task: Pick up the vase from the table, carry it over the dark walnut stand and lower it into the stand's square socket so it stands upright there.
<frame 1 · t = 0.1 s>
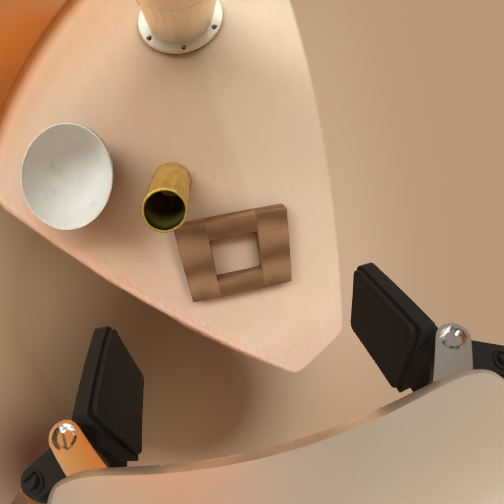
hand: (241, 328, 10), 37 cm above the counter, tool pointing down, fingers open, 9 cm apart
vase stand: (234, 251, 50), on the counter
vase: (171, 181, 43), on the counter
chinaware: (81, 167, 38), on the counter
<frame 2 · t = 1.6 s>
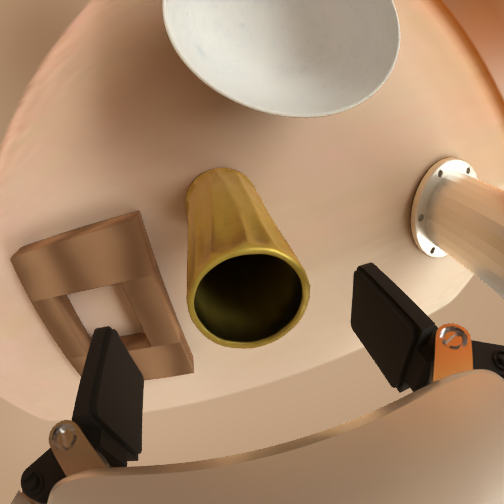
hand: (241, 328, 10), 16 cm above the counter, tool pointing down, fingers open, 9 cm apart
vase stand: (106, 308, 27), on the counter
vase: (221, 202, 25), on the counter
chinaware: (265, 34, 18), on the counter
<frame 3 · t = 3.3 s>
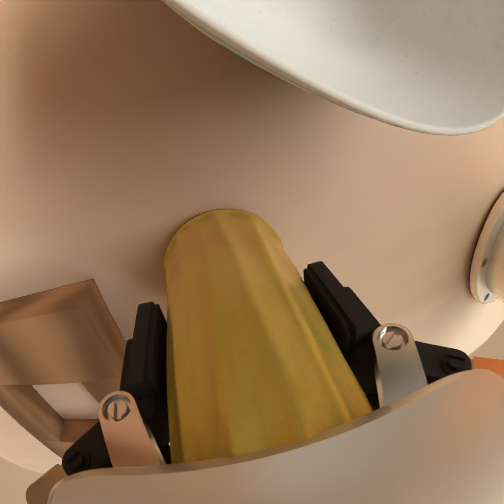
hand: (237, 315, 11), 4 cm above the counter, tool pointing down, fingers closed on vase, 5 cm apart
vase stand: (73, 393, 17), on the counter
vase: (223, 263, 15), on the counter, touching gripper
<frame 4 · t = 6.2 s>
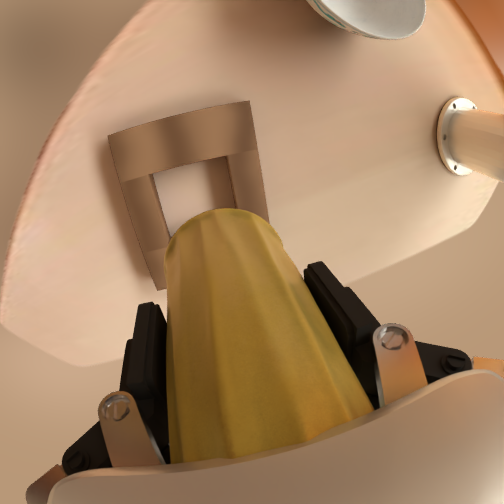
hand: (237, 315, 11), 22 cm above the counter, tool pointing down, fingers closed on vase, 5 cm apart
vase stand: (195, 195, 31), on the counter
vase: (223, 262, 15), point 18 cm above the counter, touching gripper
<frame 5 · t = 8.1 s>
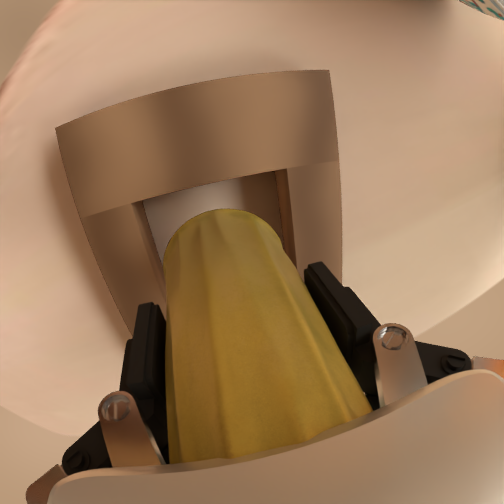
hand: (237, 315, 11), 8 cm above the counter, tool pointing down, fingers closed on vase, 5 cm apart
vase stand: (219, 236, 18), on the counter
vase: (223, 263, 15), point 3 cm above the counter, touching gripper
when the fingers open (5 cm above the counter, at t = 9.4 s): vase stays where it is, resting in vase stand.
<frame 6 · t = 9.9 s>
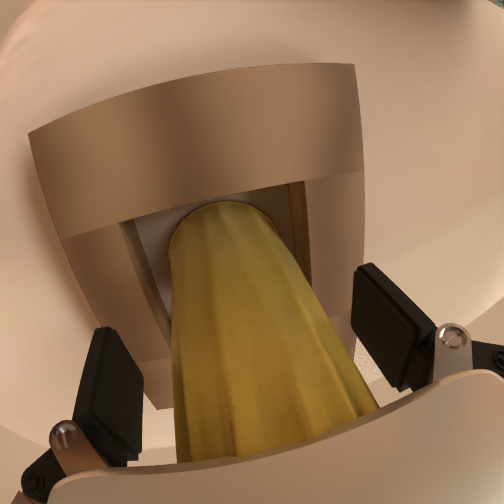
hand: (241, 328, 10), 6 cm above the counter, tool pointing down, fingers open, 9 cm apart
vase stand: (222, 256, 16), on the counter
vase: (224, 253, 16), resting in vase stand
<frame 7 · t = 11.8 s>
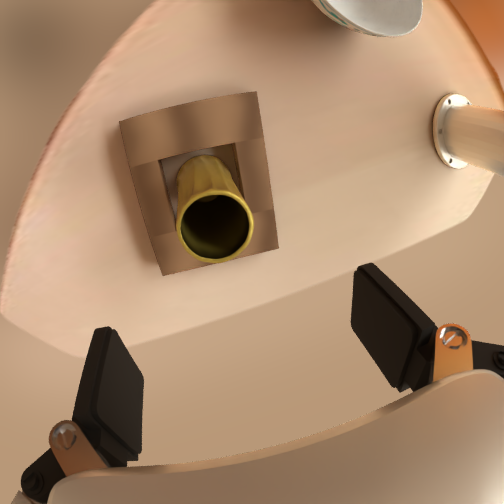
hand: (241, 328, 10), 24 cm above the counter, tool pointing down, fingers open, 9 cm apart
vase stand: (202, 182, 31), on the counter
vase: (203, 181, 32), resting in vase stand
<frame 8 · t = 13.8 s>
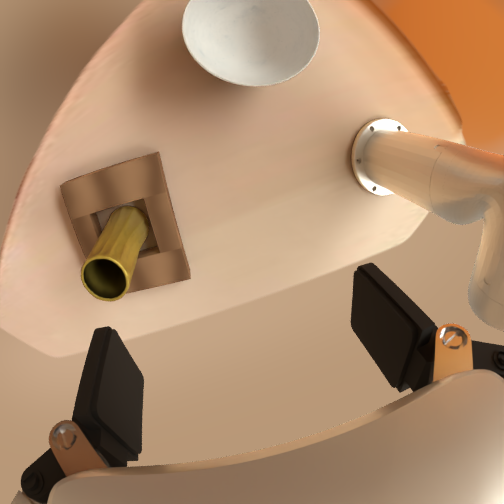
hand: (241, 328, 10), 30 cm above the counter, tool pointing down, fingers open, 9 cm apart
vase stand: (127, 227, 38), on the counter
vase: (128, 225, 38), resting in vase stand
chinaware: (241, 41, 30), on the counter
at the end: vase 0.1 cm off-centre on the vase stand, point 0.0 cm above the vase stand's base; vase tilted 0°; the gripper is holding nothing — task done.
